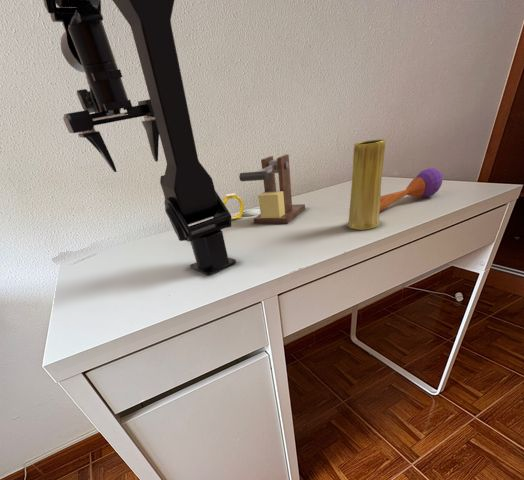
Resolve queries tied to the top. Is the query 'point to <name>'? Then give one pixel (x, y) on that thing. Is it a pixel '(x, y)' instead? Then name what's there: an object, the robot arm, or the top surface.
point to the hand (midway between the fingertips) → (136, 166)
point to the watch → (239, 202)
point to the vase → (366, 184)
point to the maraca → (416, 187)
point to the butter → (272, 204)
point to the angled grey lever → (260, 172)
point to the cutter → (284, 185)
